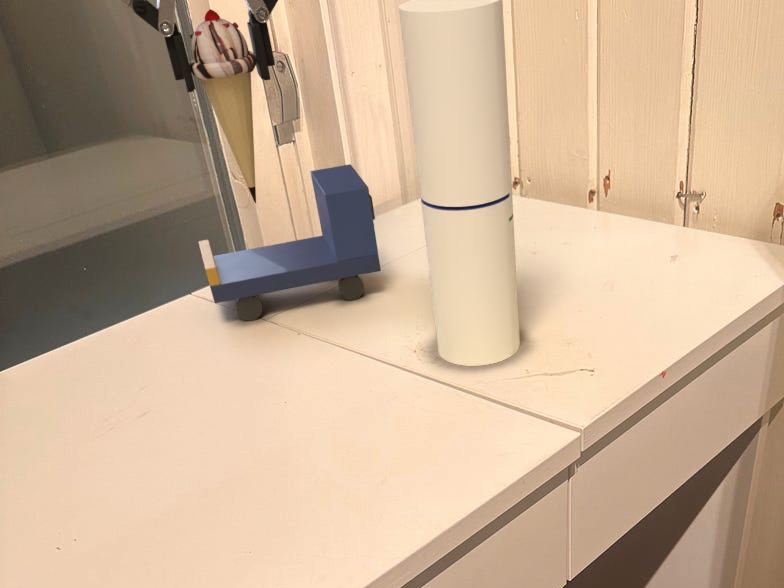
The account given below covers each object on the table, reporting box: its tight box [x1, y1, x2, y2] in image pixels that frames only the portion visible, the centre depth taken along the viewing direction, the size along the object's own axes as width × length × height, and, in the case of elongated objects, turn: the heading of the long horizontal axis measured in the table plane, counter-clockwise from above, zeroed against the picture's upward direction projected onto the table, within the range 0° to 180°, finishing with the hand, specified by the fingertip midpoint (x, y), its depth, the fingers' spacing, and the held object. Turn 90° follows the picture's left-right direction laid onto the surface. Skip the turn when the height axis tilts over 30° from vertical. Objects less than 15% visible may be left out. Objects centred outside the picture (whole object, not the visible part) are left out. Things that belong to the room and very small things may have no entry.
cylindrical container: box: [398, 0, 521, 367], centre depth 71 cm, size 7×7×25 cm
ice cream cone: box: [189, 8, 257, 204], centre depth 79 cm, size 6×6×15 cm
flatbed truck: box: [198, 163, 382, 321], centre depth 88 cm, size 16×8×10 cm, turn 108°
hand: (227, 80), depth 78 cm, fingers closed on ice cream cone, 5 cm apart
